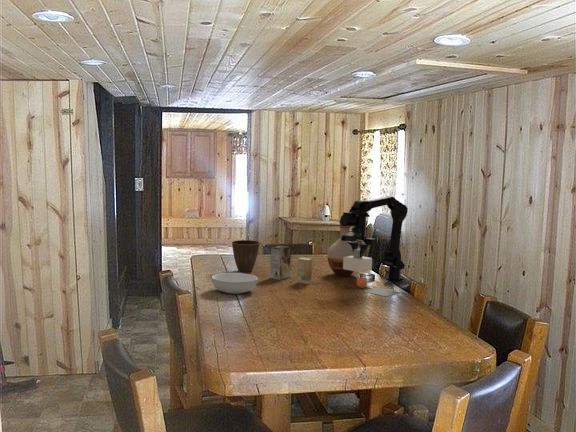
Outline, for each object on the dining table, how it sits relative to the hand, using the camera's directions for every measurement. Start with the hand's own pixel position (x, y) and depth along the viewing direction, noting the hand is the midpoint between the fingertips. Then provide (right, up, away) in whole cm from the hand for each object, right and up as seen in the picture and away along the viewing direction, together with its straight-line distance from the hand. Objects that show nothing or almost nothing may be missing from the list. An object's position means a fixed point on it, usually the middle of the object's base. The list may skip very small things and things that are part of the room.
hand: (358, 256), depth 270 cm
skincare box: (-27, -13, -1) cm, 30 cm away
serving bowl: (-59, -14, -24) cm, 66 cm away
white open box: (0, -6, +1) cm, 6 cm away
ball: (+1, -12, -9) cm, 15 cm away
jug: (-5, -12, +21) cm, 24 cm away
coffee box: (-39, -12, +10) cm, 42 cm away
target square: (+9, -15, -17) cm, 24 cm away
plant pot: (-58, -10, +23) cm, 63 cm away
